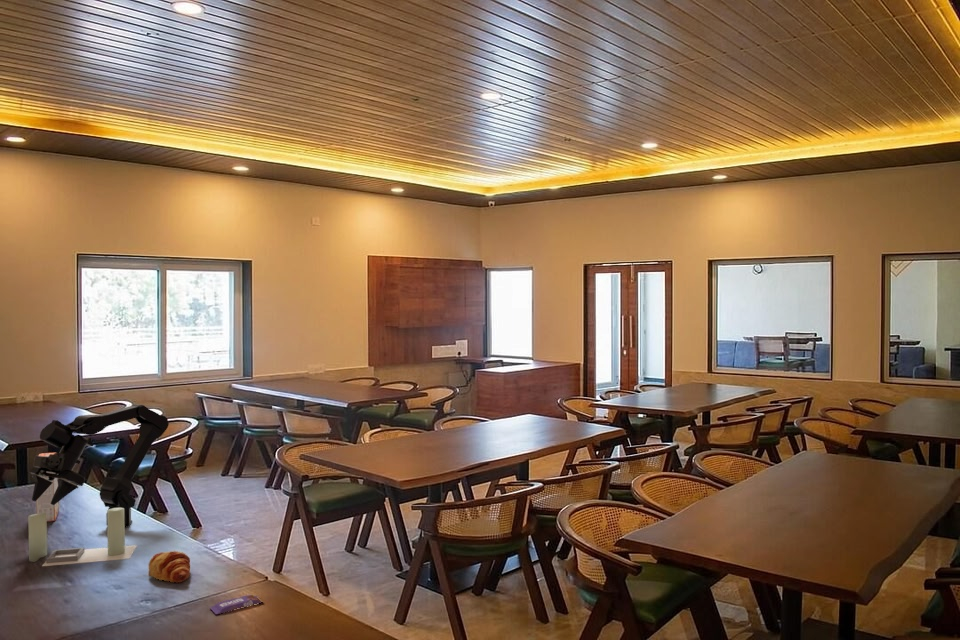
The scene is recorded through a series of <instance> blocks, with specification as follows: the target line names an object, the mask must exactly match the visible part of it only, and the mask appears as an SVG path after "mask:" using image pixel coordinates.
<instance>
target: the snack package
mask: <svg viewBox="0 0 960 640" xmlns="http://www.w3.org/2000/svg"><path fill="white" fill-rule="evenodd" d="M257 596H258V595H253V594H248V595H247V594H246V595H243V596H240V597H235V598H231V599H226V600H223V601H220V602H217V603H216V604H215V605H213V606H209V609H210V610H211V611H212V612H213V613H214V614H215V615H222V614H221V613H223V614H225V613H224V612H227V611H231V610H234V609H237V608H241V607H247V606H250V605H254V604H257V603H261V601H260V600H259V599H258V598H257ZM261 604H262V603H261ZM247 608H248V607H247ZM231 612H232V611H231ZM227 613H228V612H227Z"/></svg>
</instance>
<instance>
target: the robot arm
mask: <svg viewBox="0 0 960 640" xmlns="http://www.w3.org/2000/svg"><path fill="white" fill-rule="evenodd" d="M133 419H135V420H136V422H137V423H139V424H140V426H139V430H138V431H139V433H138V438H137V439H136V441H135V442H134V445H133V446H132V447H131V449H130V451H129V453H128V455H127V456H126V458H125V460H124V461H123V463H122V465H121V466H120V468H119V470H118V472H117V473H116V474H115V476H113V477H110V476H109V477H108V476H107V477H106V479H104V483H103V485H101V486H100V488H99V489H100V490H99V498H100V500H101V501H102V502H103V505H104V507H105V508H107V510H109V509H112V508H124V526H125V528H129V527H130V526H131V524H132V523H133V520H132V508H133V507H135V505H136V499H135V498H134V497H132V496H131V495H130V493H131V490H132V479H133V478H134V476H135V474H136V473H137V471H138V470H139V468H140V466H141V464H142V463H143V461H144V459H145V457H146V455H147V454H148V452H149V450H150V449H151V447H152V445H153V443H154V442H155V441H156V440H158V439H159V438H161V437H162V436H163V435H164V433H165V432H166V431H167V429H168V427H169V424H170V423H169V420H168V418H167V417H166V416H165V415H161V414H160V413H157V412H155V411H153V410H152V409H150V408H148V407H147V406H145V405H144V404H136V403H135V404H134V403H133V404H132V405H129V406H125V407H122V408H119V409H115V410H112V411H108V412H104V413H100V414H97V413H96V414H84V415H83V414H82V415H77V416H75V418H74V420H73V421H71V422H68V423H67V424H63V423H62V422H61V421H59V420H57V419H52V420H51V422H50V423H48V424H47V425H46V426H44V428H42V430H41V431H40V434H39V439H40V440H41V441H43V442H44V443H47V444H49V445H51V446H53V447H56V448H58V449H59V448H61V449H60V451H59V452H57V453H55V452H54V453H55V454H54V455H53V454H50V455H49V456H39V455H35V456H34V460H33V465H32V466H33V467H32V468H31V469H30V471H29V473H30V475H31V477H32V478H33V480H34V485H33V486H34V487H33V493H32V497H31V500H32V501H33V502H36V500H37V499H38V498H39V497H40V496H41V495H42V494H43V493H44V492H45V491H46V490H47V489H48V487H49V486H50V485H51V484H52V483H53V482H51V481H52V480H54V479H55V478H58V479H57V481H58V487H57V489H56V492H55V494H54V496H53V498H52V501H51V504H52V505H55V504H56V503H57V502H59V503H60V501H61V500H63V499H64V498H65V497H66V496H68V495H69V494H71V493H72V492H74V490H76V489H79V488H80V487H83V485H84V484H85V481H86V478H85V476H84V475H82V474H80V473H78V472H76V471H74V468H75V466H76V465H80V463H81V462H82V461H81V460H79V459H80V457H81V455H83V451H85V448H86V447H93V446H94V442H93V440H92V438H93V437H89V436H94V435H96V434H98V433H100V432H102V431H103V430H104V429H105V428H107V427H109V426H112V425H116V424H120V423H123V422H126V421H129V420H133ZM75 434H76V435H75ZM83 435H87V436H86V437H84V436H83ZM105 515H106V516H105V518H106V520H107V512H106V514H105Z"/></svg>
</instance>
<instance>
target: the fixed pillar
mask: <svg viewBox="0 0 960 640" xmlns="http://www.w3.org/2000/svg"><path fill="white" fill-rule="evenodd" d="M106 513H107V519H106V526H107V527H106V529H107V548H108V555H110V556H115V555H120V554H123V553H125V546H126V545H125V544H126V542H125V541H126V540H125V539H126V538H125V537H126V536H125V528H126V527H125V526H124V508H112V509H109V510H108V509H107V510H106Z"/></svg>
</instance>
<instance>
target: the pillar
mask: <svg viewBox="0 0 960 640" xmlns="http://www.w3.org/2000/svg"><path fill="white" fill-rule="evenodd" d="M27 518H28V519H27V520H28V560H29V562H32V563H35V562H37V561H38V560H39V559H41V558H44V557H46V556H48V523H47V514H45V513H38V514H36V513H34V514H30V515H28V517H27Z"/></svg>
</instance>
